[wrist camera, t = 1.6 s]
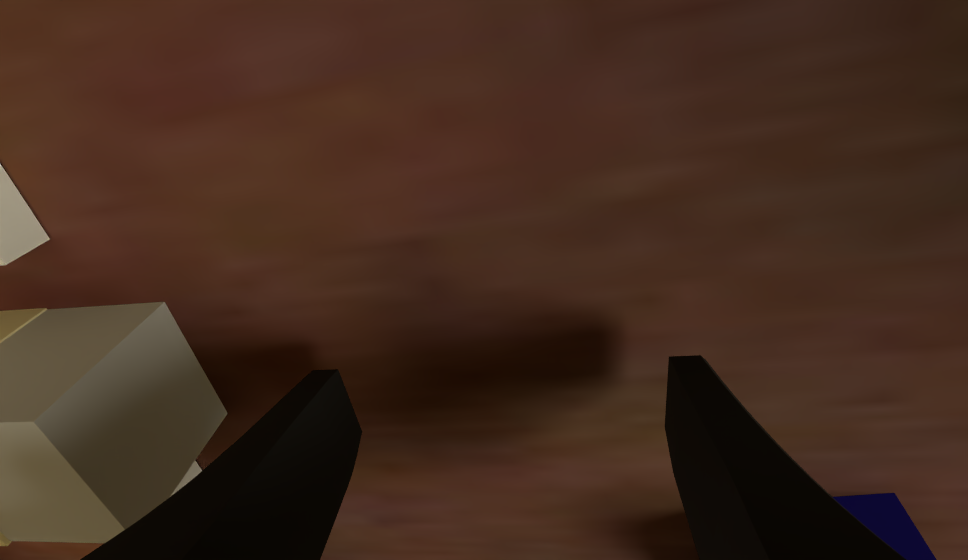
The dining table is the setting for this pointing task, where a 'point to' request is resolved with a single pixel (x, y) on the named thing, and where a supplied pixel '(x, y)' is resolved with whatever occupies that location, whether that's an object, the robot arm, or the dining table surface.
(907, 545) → the navy blue l-shaped piece
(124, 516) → the banded cream box
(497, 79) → the dining table surface
